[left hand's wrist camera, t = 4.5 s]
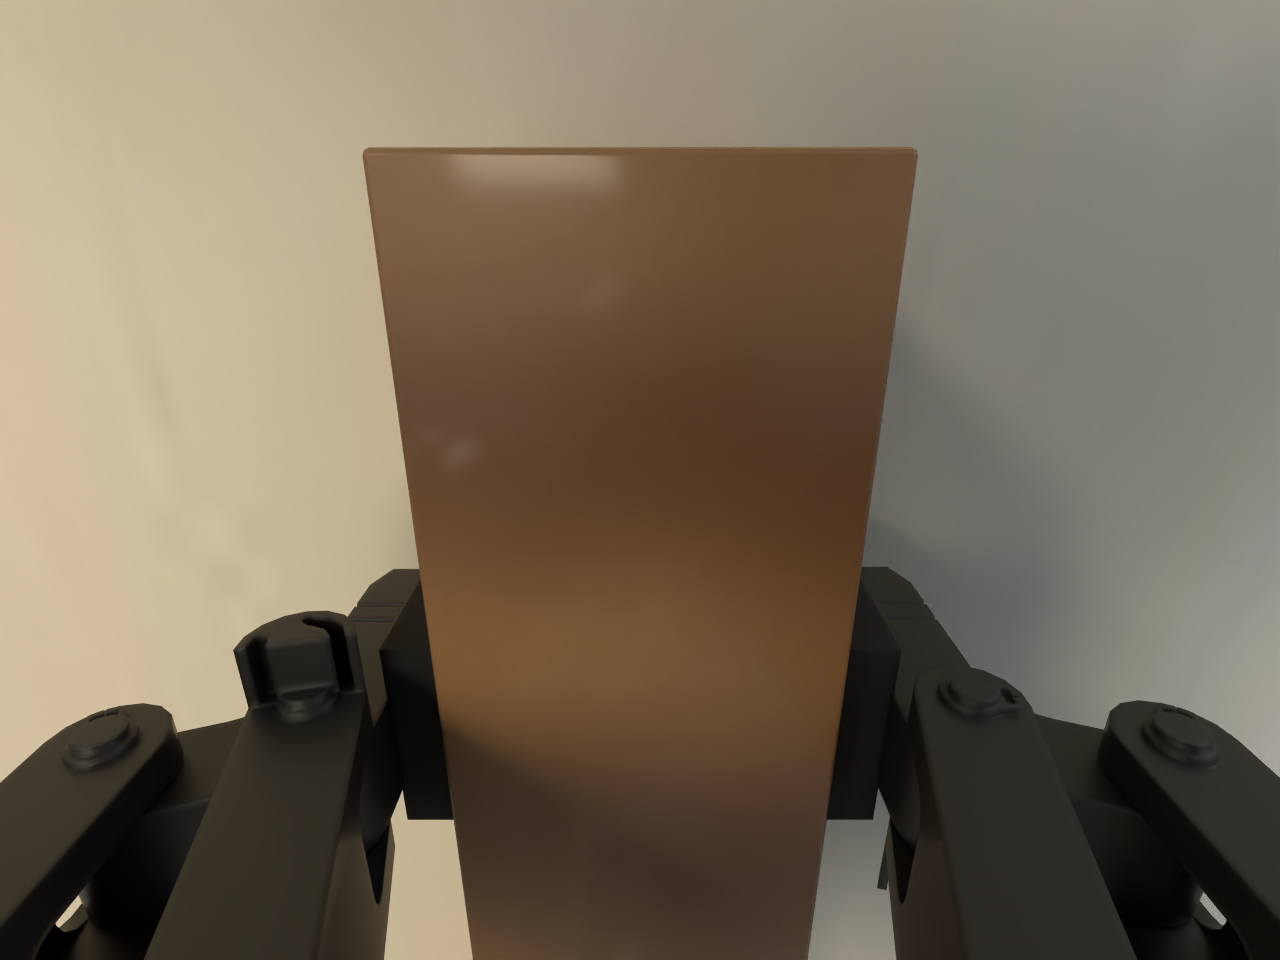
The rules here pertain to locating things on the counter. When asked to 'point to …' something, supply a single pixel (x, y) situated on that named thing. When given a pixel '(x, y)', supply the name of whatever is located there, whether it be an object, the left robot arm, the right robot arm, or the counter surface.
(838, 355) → the bar
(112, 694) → the counter surface
